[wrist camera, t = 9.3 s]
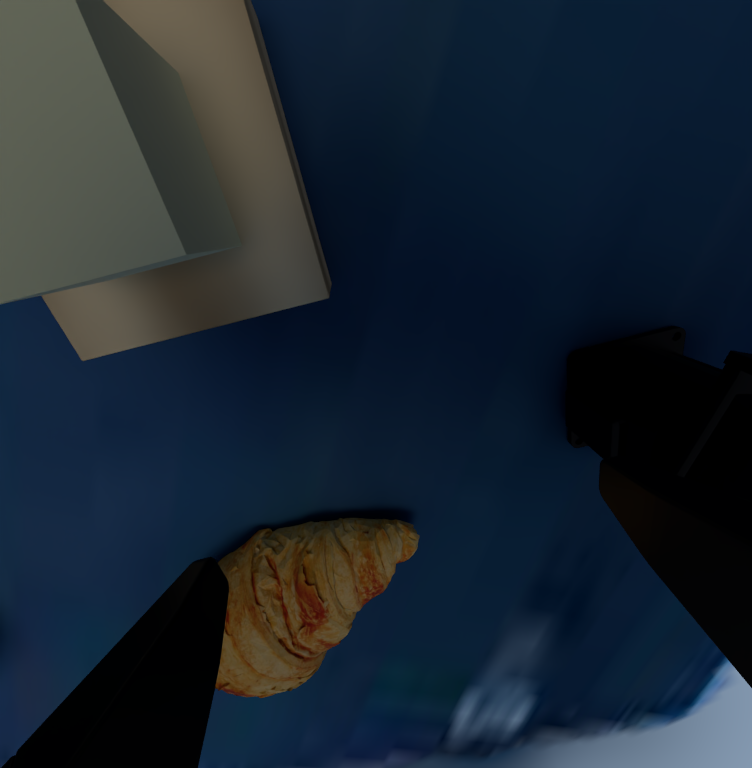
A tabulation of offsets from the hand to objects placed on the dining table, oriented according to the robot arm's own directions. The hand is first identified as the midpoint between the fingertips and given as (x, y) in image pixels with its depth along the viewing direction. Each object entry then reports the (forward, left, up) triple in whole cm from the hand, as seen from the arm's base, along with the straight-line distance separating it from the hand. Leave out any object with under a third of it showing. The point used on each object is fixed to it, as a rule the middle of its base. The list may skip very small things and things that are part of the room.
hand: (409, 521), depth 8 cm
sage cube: (+6, -9, -8) cm, 13 cm away
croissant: (+10, +15, -12) cm, 22 cm away
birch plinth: (+6, -9, -12) cm, 16 cm away
